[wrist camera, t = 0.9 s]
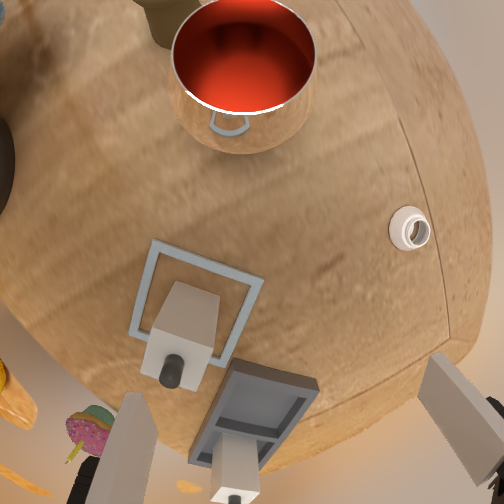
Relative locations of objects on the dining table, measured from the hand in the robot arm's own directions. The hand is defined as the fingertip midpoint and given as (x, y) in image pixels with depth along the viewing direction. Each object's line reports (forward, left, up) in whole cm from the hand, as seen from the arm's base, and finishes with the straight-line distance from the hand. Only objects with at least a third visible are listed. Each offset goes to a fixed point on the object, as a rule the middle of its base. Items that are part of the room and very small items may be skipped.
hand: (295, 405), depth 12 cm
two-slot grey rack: (+7, -22, -20) cm, 31 cm away
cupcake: (-13, -31, -20) cm, 40 cm away
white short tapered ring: (+14, +10, -20) cm, 26 cm away
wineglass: (-7, +13, -20) cm, 25 cm away
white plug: (+7, -27, -19) cm, 34 cm away
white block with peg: (-5, -7, -20) cm, 22 cm away
